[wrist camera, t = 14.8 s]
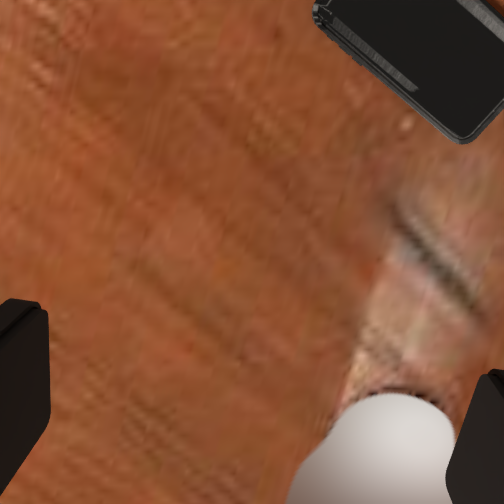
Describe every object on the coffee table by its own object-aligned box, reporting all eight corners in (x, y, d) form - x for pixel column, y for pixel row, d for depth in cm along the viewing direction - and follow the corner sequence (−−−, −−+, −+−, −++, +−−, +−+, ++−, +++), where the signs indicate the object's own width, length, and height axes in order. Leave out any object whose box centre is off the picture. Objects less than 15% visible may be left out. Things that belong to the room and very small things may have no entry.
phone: (384, -95, 30) (549, 59, 32) (380, -90, 31) (540, 60, 33) (304, 16, 32) (463, 152, 35) (303, 18, 33) (458, 150, 36)
